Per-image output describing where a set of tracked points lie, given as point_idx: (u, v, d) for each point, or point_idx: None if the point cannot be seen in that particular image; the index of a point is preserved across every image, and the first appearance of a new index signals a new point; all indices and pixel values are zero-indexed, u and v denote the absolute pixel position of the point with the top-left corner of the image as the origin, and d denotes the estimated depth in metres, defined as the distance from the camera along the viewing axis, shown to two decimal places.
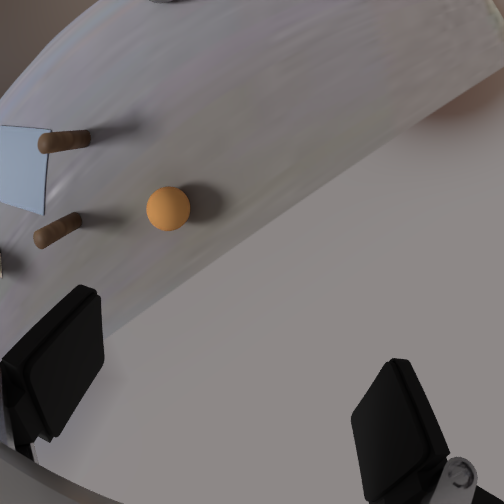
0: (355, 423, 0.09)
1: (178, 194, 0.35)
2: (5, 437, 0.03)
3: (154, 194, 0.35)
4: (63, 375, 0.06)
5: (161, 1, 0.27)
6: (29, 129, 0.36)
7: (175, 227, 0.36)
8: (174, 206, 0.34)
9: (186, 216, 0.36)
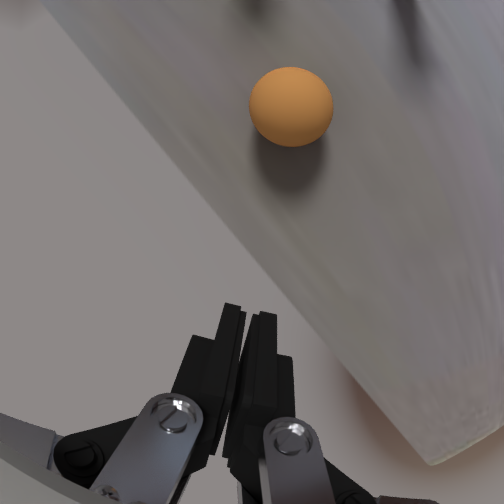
0: None
1: (323, 131, 0.18)
2: (168, 492, 0.04)
3: (325, 87, 0.16)
4: None
5: None
6: None
7: (260, 124, 0.17)
8: (306, 128, 0.17)
9: (279, 143, 0.18)
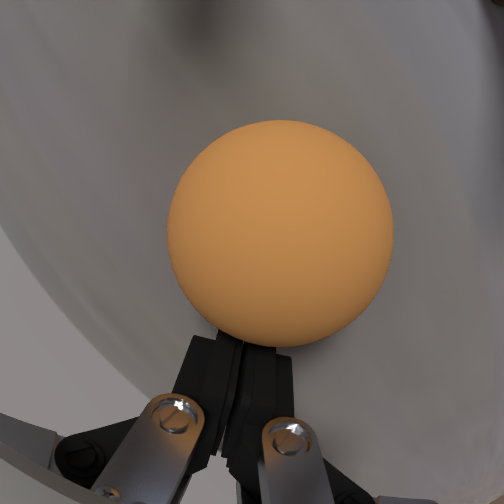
0: None
1: (371, 300, 0.06)
2: (169, 492, 0.04)
3: None
4: None
5: None
6: None
7: (186, 274, 0.06)
8: (338, 290, 0.05)
9: (244, 338, 0.06)
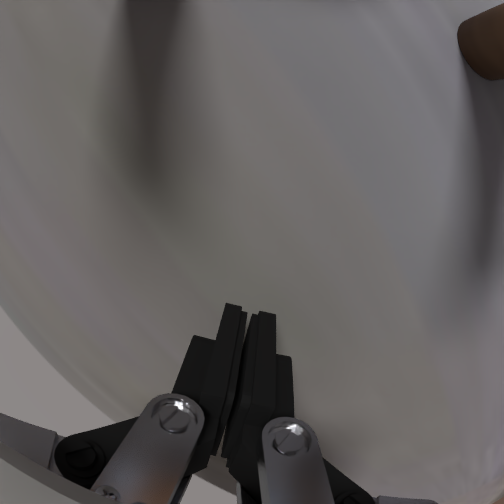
0: None
1: None
2: (169, 492, 0.04)
3: None
4: None
5: None
6: None
7: None
8: None
9: None
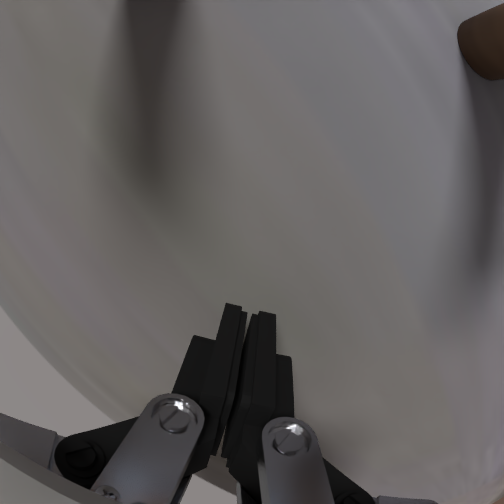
0: None
1: None
2: (169, 492, 0.04)
3: None
4: None
5: None
6: None
7: None
8: None
9: None
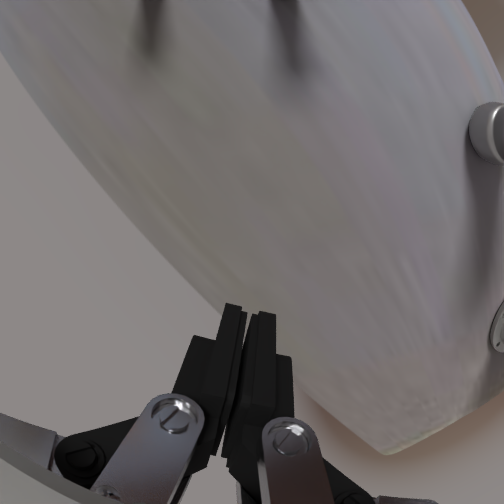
0: None
1: None
2: (169, 492, 0.04)
3: None
4: None
5: (473, 127, 0.21)
6: None
7: None
8: None
9: None
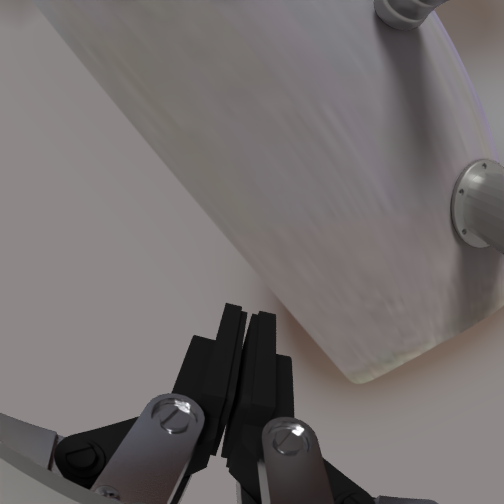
0: None
1: None
2: (169, 492, 0.04)
3: None
4: None
5: (374, 1, 0.23)
6: None
7: None
8: None
9: None
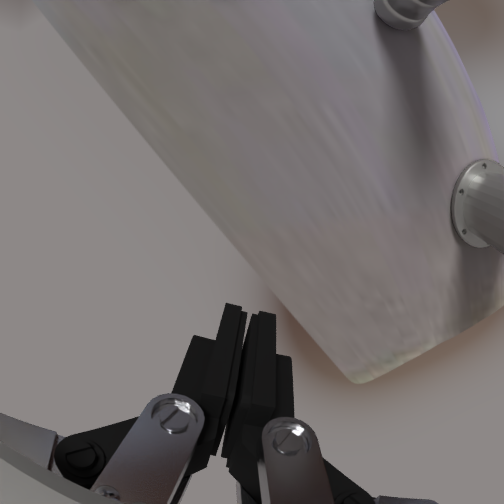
0: None
1: None
2: (169, 492, 0.04)
3: None
4: None
5: (374, 1, 0.23)
6: None
7: None
8: None
9: None
